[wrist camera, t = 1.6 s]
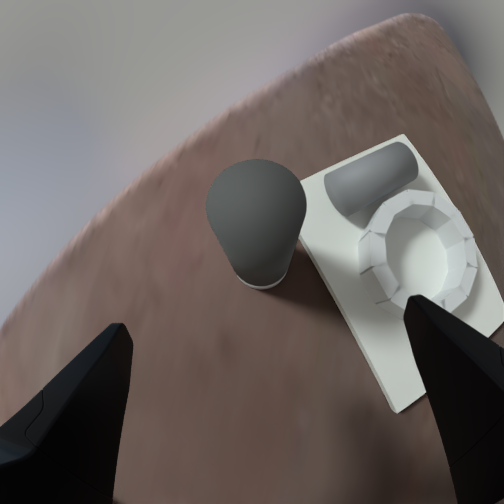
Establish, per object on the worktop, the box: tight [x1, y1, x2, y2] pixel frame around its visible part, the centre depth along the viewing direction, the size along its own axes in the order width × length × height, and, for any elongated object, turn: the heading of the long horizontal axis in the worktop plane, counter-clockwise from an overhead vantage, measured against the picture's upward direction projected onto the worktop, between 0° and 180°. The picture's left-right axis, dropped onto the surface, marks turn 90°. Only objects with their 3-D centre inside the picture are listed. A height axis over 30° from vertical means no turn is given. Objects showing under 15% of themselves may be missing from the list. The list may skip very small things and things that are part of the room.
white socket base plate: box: [298, 134, 504, 413], centre depth 18 cm, size 17×12×4 cm
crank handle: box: [206, 159, 307, 290], centre depth 16 cm, size 4×4×10 cm
